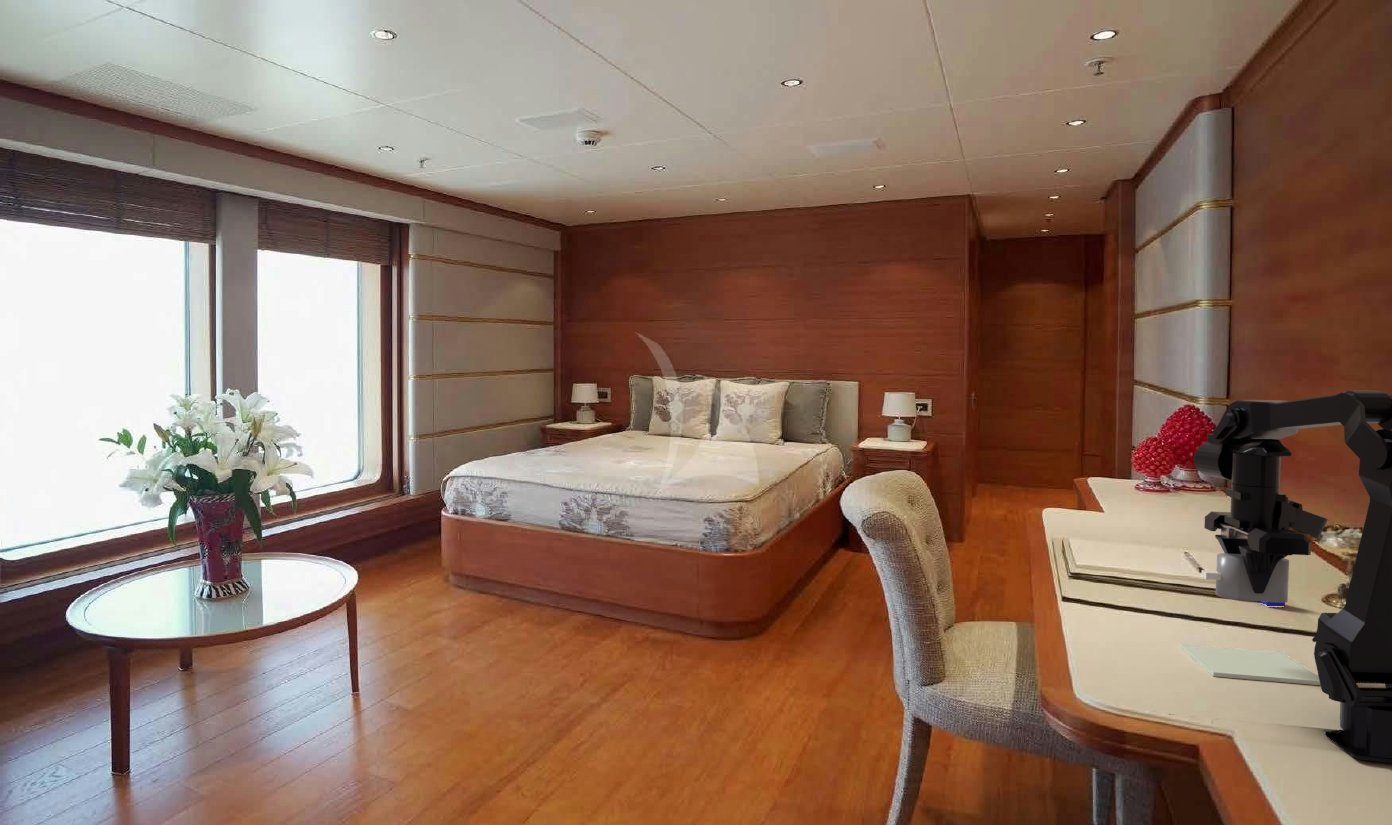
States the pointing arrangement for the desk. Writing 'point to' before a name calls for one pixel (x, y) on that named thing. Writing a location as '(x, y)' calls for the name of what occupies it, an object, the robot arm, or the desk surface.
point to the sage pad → (1250, 664)
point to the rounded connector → (1247, 580)
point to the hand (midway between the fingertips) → (1251, 589)
